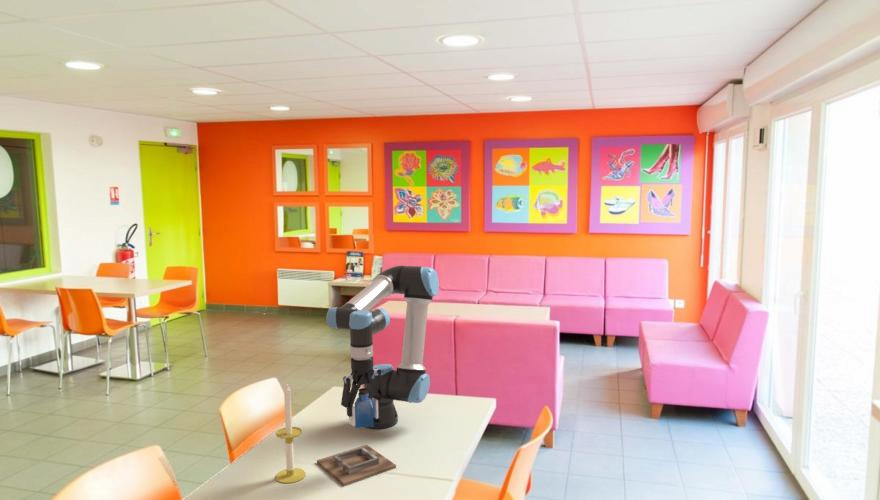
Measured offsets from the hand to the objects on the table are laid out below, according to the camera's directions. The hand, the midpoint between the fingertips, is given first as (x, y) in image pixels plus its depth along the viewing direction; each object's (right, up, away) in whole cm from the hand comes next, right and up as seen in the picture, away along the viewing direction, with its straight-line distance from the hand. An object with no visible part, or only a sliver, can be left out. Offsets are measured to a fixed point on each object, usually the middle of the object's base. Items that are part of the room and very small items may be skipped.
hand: (364, 420), depth 201 cm
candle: (-24, -18, -3) cm, 30 cm away
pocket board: (-3, -17, +4) cm, 17 cm away
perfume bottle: (0, -1, 0) cm, 1 cm away
